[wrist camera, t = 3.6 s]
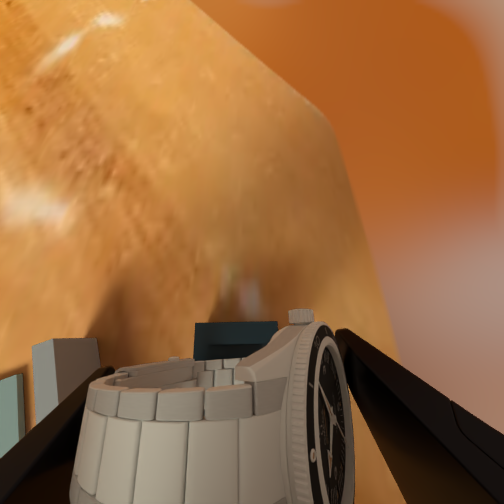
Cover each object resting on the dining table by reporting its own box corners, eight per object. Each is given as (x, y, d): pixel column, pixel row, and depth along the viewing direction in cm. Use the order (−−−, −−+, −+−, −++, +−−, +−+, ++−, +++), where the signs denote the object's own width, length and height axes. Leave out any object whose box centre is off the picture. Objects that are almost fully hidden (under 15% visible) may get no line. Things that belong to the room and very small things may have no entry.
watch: (311, 423, 13) (511, 720, 3) (170, 426, 13) (-106, 742, 3) (302, 321, 15) (408, 294, 5) (179, 324, 15) (25, 302, 5)
